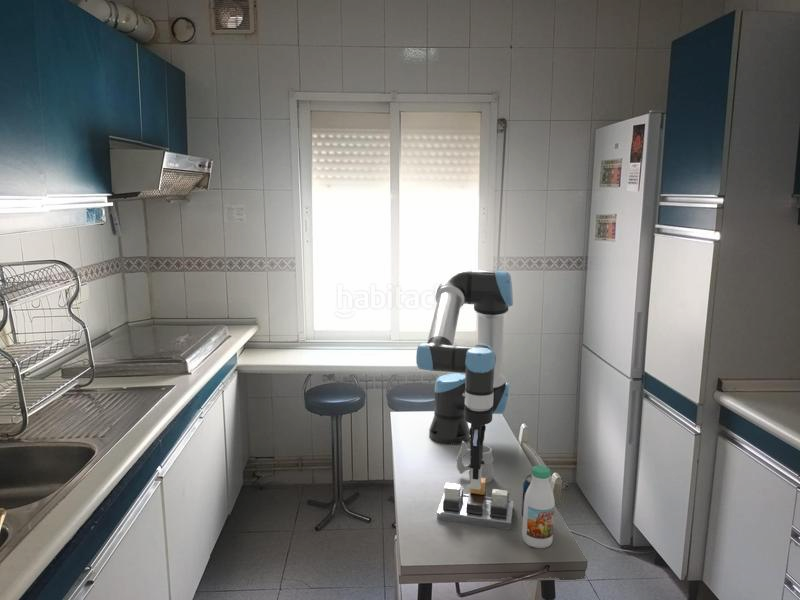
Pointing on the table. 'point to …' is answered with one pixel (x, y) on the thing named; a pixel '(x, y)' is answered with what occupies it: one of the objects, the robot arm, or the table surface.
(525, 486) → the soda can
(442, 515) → the breaker panel
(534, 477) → the milk bottle
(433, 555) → the table surface
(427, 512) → the table surface
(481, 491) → the toggle
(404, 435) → the table surface
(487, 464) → the mug
